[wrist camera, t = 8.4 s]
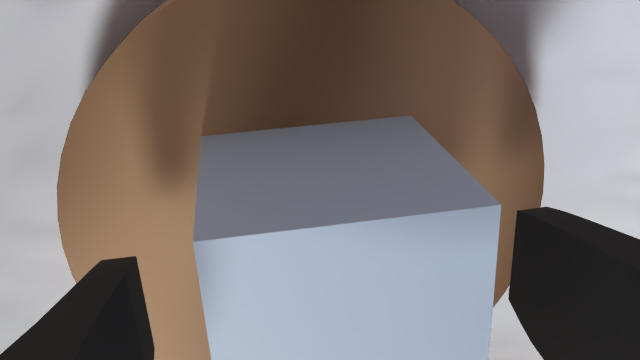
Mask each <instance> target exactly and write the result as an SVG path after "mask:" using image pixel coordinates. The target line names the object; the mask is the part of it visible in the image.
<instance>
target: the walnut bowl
mask: <svg viewBox="0 0 640 360" xmlns="http://www.w3.org/2000/svg"><path fill="white" fill-rule="evenodd" d="M400 116H412V117H413V118H414V119H415V120H416V121H417V122H418V123H419V124H420V125H421V126H422V127H423V128H424V129H425V130H426V131H427V132H428V133H429V134H430V135H431V136H432V137H433V138H434V139H435V140H436V141H437V142H438V143H439V144H440V145H441V146H442V147H443V148H444V149H445V150H447V151H448V152H449V153H450V154H451V155H452V156H453V157H454V158H455V159H456V160H457V161H458V162H459V163H460V164H461V165H462V166H463V167H464V168H465V169H466V170H467V171H468V172H469V173H470V174H471V175H472V176H473V177H474V178H475V179H476V180H477V181H478V182H479V183H480V184H481V185H482V186H483V187H484V188H485V189H486V190H487V191H488V192H489V193H490V194H491V195H492V196H493V197H494V198H495V199H496V200H497V201H498V202H499V203H500V204H501V214H500V226H499V238H498V250H497V263H496V275H495V287H494V299H493V307H494V306H495V304H496V303H497V302H498V301H499V299H500V298H501V297H502V295H503V294H504V293H505V291H506V289H507V288H508V286H509V285H510V278H511V267H512V257H513V247H514V236H515V226H516V216H517V210H525V209H533V208H540V206H541V200H542V195H543V181H544V155H543V144H542V135H541V131H540V127H539V122H538V118H537V114H536V110H535V107H534V104H533V102H532V99H531V97H530V94H529V92H528V89H527V87H526V84H525V82H524V80H523V78H522V76H521V75H520V73H519V71H518V70H517V68H516V66H515V64H514V63H513V61H512V59H511V58H510V56H509V55H508V53H507V52H506V51H505V50H504V48H503V47H502V46H501V45H500V43H499V42H498V41H497V40H496V38H495V37H494V36H493V35H492V33H491V32H490V31H489V30H488V29H487V28H486V27H484V26H483V25H482V24H481V23H480V22H479V21H478V20H477V19H476V18H475V17H473V16H472V15H471V14H470V13H469V12H468V11H467V10H466V9H464V8H463V7H461V6H460V5H458V4H457V3H455V2H454V1H452V0H165V1H163V2H162V3H161V4H160V5H159V6H157V7H156V8H155V9H154V10H153V11H151V12H150V13H149V14H148V15H146V16H145V17H144V18H143V19H142V20H141V21H140V22H139V23H138V24H137V25H136V26H135V28H134V29H133V30H132V31H131V32H130V33H129V34H128V35H127V36H126V37H125V39H124V40H123V41H122V42H121V43H120V44H119V45H118V47H117V48H116V49H115V50H114V52H113V53H112V54H111V55H110V57H109V58H108V59H107V60H106V62H105V63H104V65H103V66H102V67H101V69H100V70H99V72H98V73H97V75H96V76H95V78H94V79H93V81H92V82H91V84H90V85H89V87H88V88H87V90H86V91H85V94H84V96H83V98H82V100H81V102H80V104H79V106H78V108H77V111H76V113H75V115H74V117H73V119H72V121H71V124H70V127H69V131H68V134H67V137H66V141H65V144H64V148H63V151H62V154H61V161H60V169H59V176H58V184H57V205H58V222H59V228H60V233H61V239H62V245H63V249H64V252H65V255H66V258H67V261H68V264H69V267H70V270H71V273H72V276H73V278H74V279H75V281H76V283H78V282H79V281H80V280H81V279H82V278H83V277H84V276H85V275H86V274H87V273H88V272H89V271H90V270H91V269H92V268H93V267H94V266H95V265H96V264H97V263H99V262H100V261H101V260H107V259H115V258H124V257H132V256H136V258H137V263H138V268H139V273H140V277H141V282H142V287H143V292H144V297H145V302H146V307H147V312H148V317H149V322H150V327H151V332H152V337H153V342H154V347H155V351H154V360H211V355H210V348H209V342H208V336H207V329H206V323H205V317H204V310H203V304H202V297H201V291H200V285H199V278H198V272H197V266H196V259H195V253H194V247H193V233H194V220H195V207H196V194H197V181H198V168H199V156H200V143H201V136H208V135H218V134H228V133H239V132H249V131H259V130H269V129H279V128H289V127H299V126H309V125H319V124H330V123H340V122H350V121H360V120H370V119H380V118H390V117H400Z"/></svg>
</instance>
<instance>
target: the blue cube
mask: <svg viewBox="0 0 640 360" xmlns="http://www.w3.org/2000/svg"><path fill="white" fill-rule="evenodd" d="M500 214H501V204H500V203H499V202H498V201H497V200H496V199H495V198H494V197H493V196H492V195H491V194H490V193H489V192H488V191H487V190H486V189H485V188H484V187H483V186H482V185H481V184H480V183H479V182H478V181H477V180H476V179H475V178H474V177H473V176H472V175H471V174H470V173H469V172H468V171H467V170H466V169H465V168H464V167H463V166H462V165H461V164H460V163H459V162H458V161H457V160H456V159H455V158H454V157H453V156H452V155H451V154H450V153H449V152H448V151H447V150H445V149H444V148H443V147H442V146H441V145H440V144H439V143H438V142H437V141H436V140H435V139H434V138H433V137H432V136H431V135H430V134H429V133H428V132H427V131H426V130H425V129H424V128H423V127H422V126H421V125H420V124H419V123H418V122H417V121H416V120H415V119H414V118H413V117H412V116H400V117H390V118H380V119H370V120H360V121H350V122H340V123H330V124H319V125H309V126H299V127H289V128H279V129H269V130H259V131H249V132H239V133H228V134H218V135H208V136H201V143H200V156H199V168H198V181H197V194H196V207H195V220H194V233H193V247H194V253H195V259H196V266H197V272H198V278H199V285H200V291H201V297H202V304H203V310H204V317H205V323H206V329H207V336H208V342H209V348H210V355H211V360H489V348H490V336H491V324H492V311H493V299H494V287H495V275H496V263H497V250H498V238H499V226H500Z"/></svg>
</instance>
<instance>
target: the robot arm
mask: <svg viewBox="0 0 640 360" xmlns="http://www.w3.org/2000/svg"><path fill="white" fill-rule="evenodd" d="M509 301H510V303H511V305H512V307H513V309H514V311H515V313H516V315H517V317H518V319H519V321H520V323H521V324H522V326H523V328H524V330H525V332H526V333H527V335H528V337H529V339H530V341H531V342H532V344H533V345H534V346H535V348H536V349H537V351H538V352H539V354H540V355H541V356H542V358H543V359H544V360H640V239H637V238H634V237H632V236H629V235H626V234H624V233H621V232H619V231H616V230H613V229H611V228H608V227H605V226H603V225H600V224H598V223H595V222H592V221H590V220H587V219H584V218H581V217H579V216H576V215H573V214H570V213H567V212H564V211H561V210H557V209H553V208H549V207H542V208H533V209H525V210H517V216H516V226H515V236H514V247H513V257H512V267H511V278H510V288H509ZM154 351H155V347H154V342H153V337H152V332H151V327H150V322H149V317H148V312H147V307H146V302H145V297H144V292H143V287H142V282H141V277H140V273H139V268H138V263H137V258H136V256H132V257H124V258H115V259H107V260H101V261H100V262H99V263H97V264H96V265H95V266H94V267H93V268H92V269H91V270H90V271H89V272H88V273H87V274H86V275H85V276H84V277H83V278H82V279H81V280H80V281H79V282H78V283H77V284H76V285H75V286H74V287H73V288H72V289H71V290H70V291H69V292H68V293H67V294H66V295H65V296H64V297H63V298H62V299H61V300H60V301H59V302H58V303H56V304H55V305H54V306H53V307H52V308H51V309H50V310H49V311H48V312H47V313H46V314H45V315H44V316H43V317H42V318H41V319H40V320H39V321H38V322H37V323H36V324H35V325H34V326H32V327H31V328H30V329H29V330H28V331H27V332H26V333H24V334H23V335H22V336H21V337H20V338H19V339H18V340H16V341H15V342H14V343H13V344H12V345H11V346H10V347H8V348H7V349H6V350H5V351H4V352H3V353H2V354H0V360H154Z"/></svg>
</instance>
